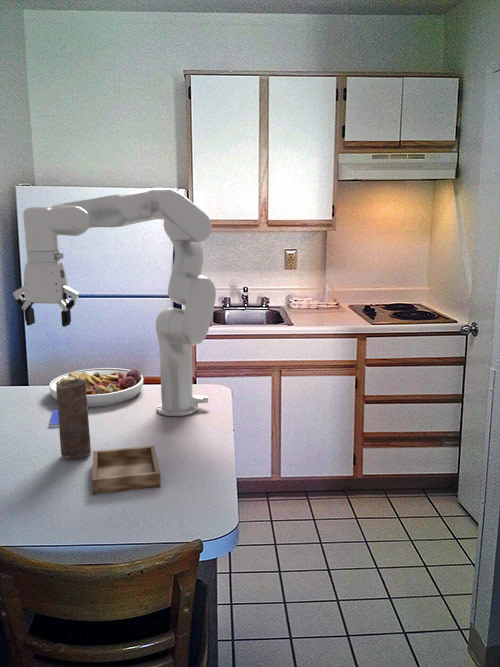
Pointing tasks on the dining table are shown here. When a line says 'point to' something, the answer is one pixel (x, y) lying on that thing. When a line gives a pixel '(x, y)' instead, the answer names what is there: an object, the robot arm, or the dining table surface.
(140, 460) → the wooden tray
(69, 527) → the dining table surface
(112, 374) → the bowl
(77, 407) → the candle
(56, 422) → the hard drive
